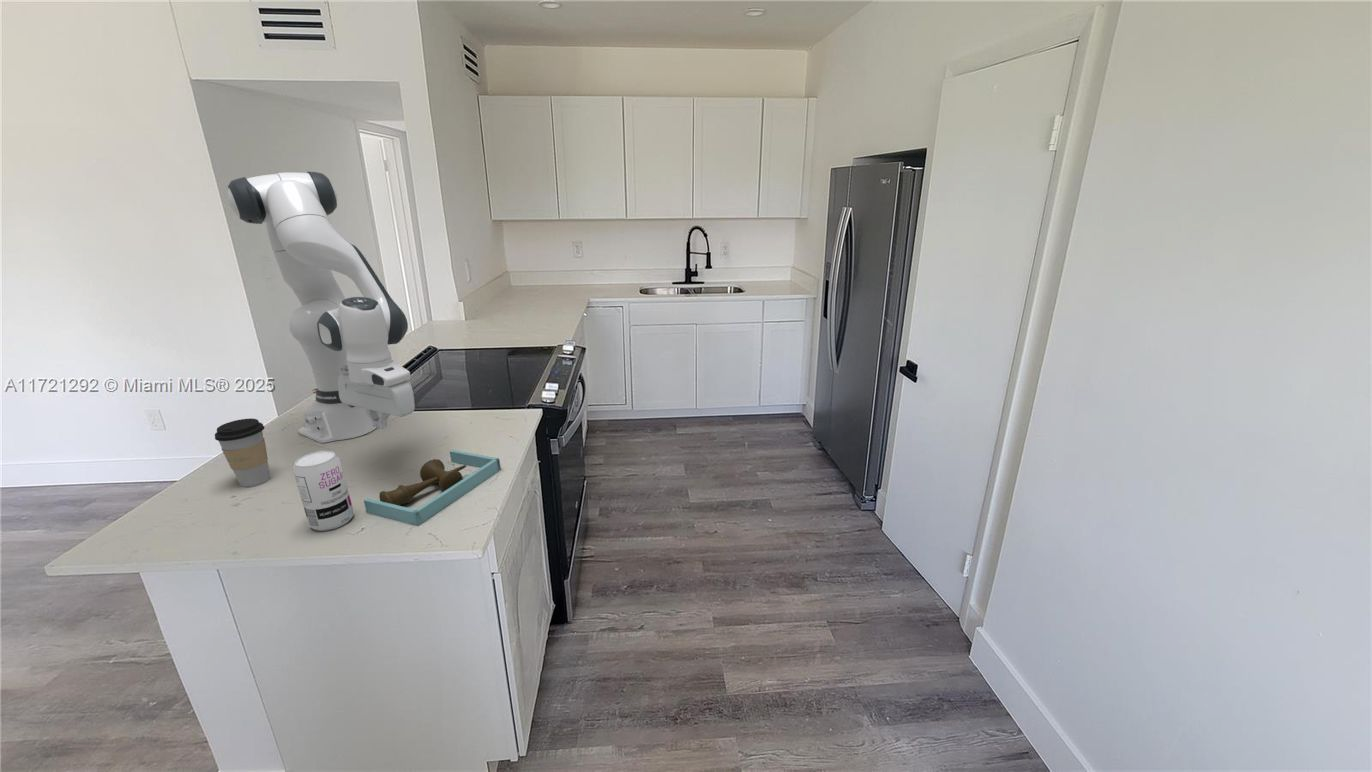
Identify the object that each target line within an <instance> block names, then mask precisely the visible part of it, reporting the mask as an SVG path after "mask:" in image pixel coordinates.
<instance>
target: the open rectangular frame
mask: <svg viewBox="0 0 1372 772" xmlns="http://www.w3.org/2000/svg"><path fill="white" fill-rule="evenodd" d="M449 457H450V460H451V463H454V464H455V463H456V464H459V465H466V466H470V467H475V468H478V469H477V470H475V471H474V472H472V473H470V474H468V475H467V476H466V477H464V478H463V480H461V481H460V482H458V483H456V484H455V485H453V486H452V487H450V488H449V489H447V490H446V491H444V492H441V493H440V494H438V495H437V496H435V497H433V498H432V499H430V500H428V501H427V502H425V503H424V504H423V505H421V506H420V507H418V508H416V509H415V508H410V507H406V506H401V505H399V506H398V505H394V504H390V503H386V502H382V501H380V500H377V499H372V498H367V497H366V498H365V499H363V503H364V508H365V511H366V513H368V514H372V515H375V516H379V517H383V518H388V519H390V520H391V519H392V520H396V521H398V522H399V521H400V522H403V523H408V524H411V525H415V526H420V525H422V524H423V523H424V522H426V521H427V520H429V519H430V518H431V517H433V516H435V515H436V514H438V513H439V512H441V511H442V510H444V509H445V508H447V506H449V505H450V504H452V503H454V502H455V501H457V500H458V499H459V498H461V497H462V496H464V495H466V494H467V493H468V492H470V491H472V489H474V488H476V487H477V486H479V485H480V484H482V483H483V482H485V480H488V479H489V478H490V477H492V476H494V475H495V474H496V473H497V472H499V471H501V470H502V467H501V466H502V465H501V462H500V458H498V457H493V456H490V455H489V456H488V455H482V454H477V453H473V452H466V451H461V450H456V449H451V450H449Z"/></svg>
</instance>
